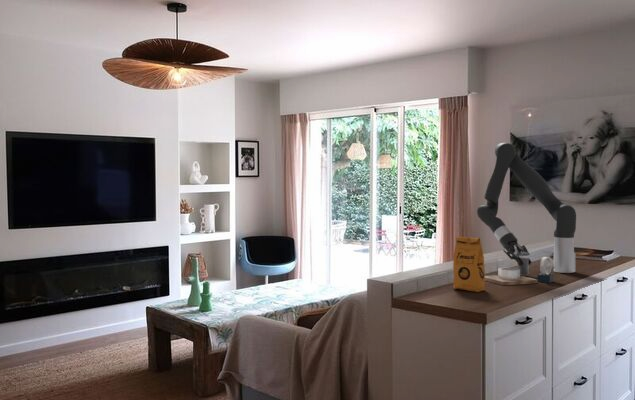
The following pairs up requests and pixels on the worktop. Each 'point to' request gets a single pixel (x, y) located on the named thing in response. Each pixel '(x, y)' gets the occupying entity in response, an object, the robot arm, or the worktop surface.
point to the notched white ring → (509, 273)
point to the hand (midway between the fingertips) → (526, 264)
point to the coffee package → (469, 264)
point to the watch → (546, 270)
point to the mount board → (510, 282)
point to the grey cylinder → (524, 268)
